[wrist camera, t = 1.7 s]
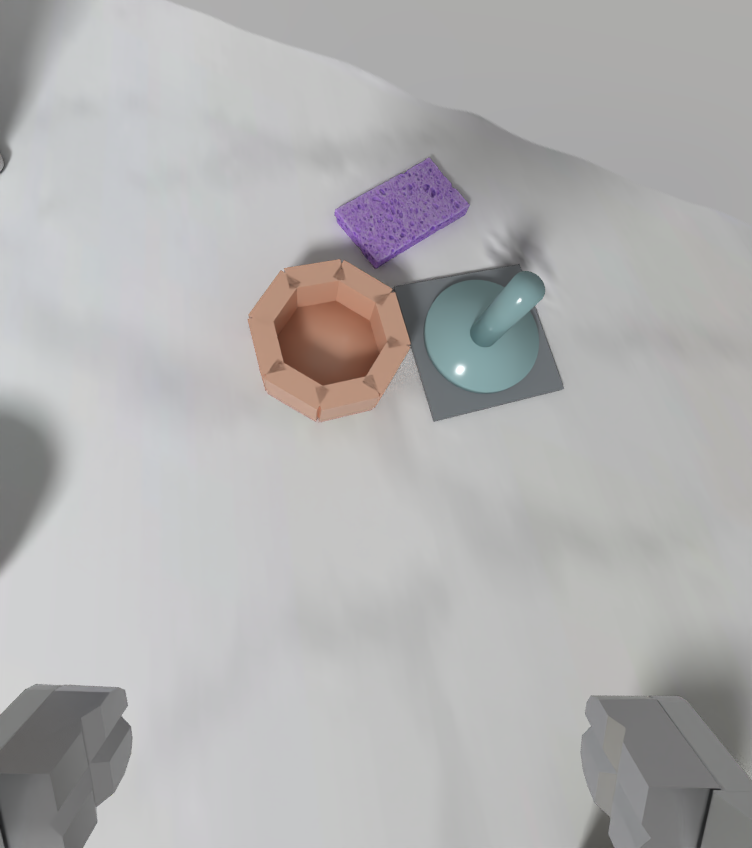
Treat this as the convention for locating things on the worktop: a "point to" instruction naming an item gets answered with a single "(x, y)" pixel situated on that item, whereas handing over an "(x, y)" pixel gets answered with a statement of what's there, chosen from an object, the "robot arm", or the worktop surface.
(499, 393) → the mat
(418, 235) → the sponges
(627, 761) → the robot arm
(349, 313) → the bowl
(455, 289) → the lid
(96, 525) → the worktop surface
